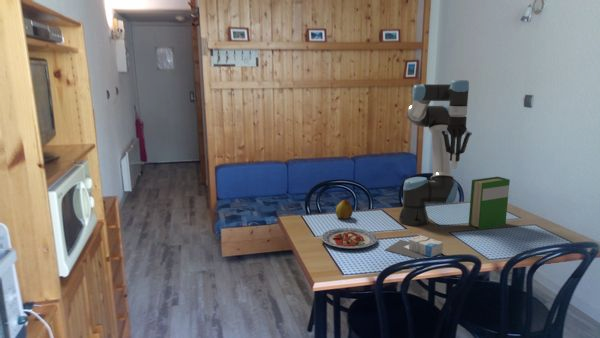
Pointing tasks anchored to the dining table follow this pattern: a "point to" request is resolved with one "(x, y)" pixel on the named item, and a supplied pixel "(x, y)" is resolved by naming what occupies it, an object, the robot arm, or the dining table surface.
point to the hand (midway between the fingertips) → (454, 168)
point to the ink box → (425, 246)
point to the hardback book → (488, 202)
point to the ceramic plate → (349, 238)
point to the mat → (404, 250)
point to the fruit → (344, 209)
